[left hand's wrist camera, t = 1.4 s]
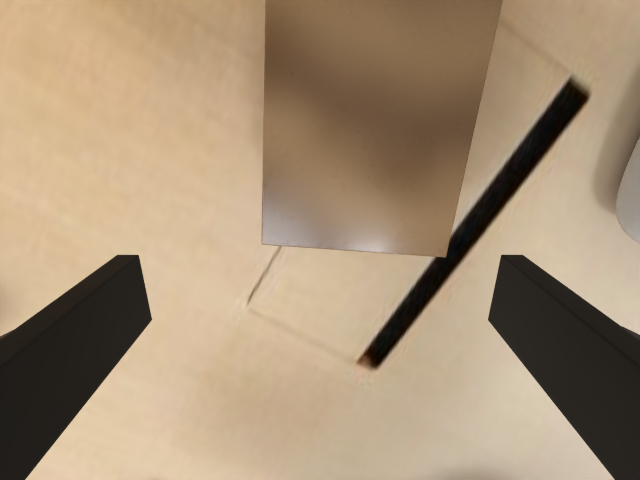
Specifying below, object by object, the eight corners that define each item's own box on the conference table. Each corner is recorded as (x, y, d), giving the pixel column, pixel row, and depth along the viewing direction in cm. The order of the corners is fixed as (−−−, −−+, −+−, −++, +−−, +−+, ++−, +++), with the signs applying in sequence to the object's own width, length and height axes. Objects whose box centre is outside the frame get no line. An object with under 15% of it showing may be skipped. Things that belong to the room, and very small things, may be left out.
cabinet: (289, -34, 25) (267, -136, 14) (442, -20, 25) (527, -110, 15) (281, 200, 31) (261, 244, 20) (404, 209, 31) (446, 257, 21)
